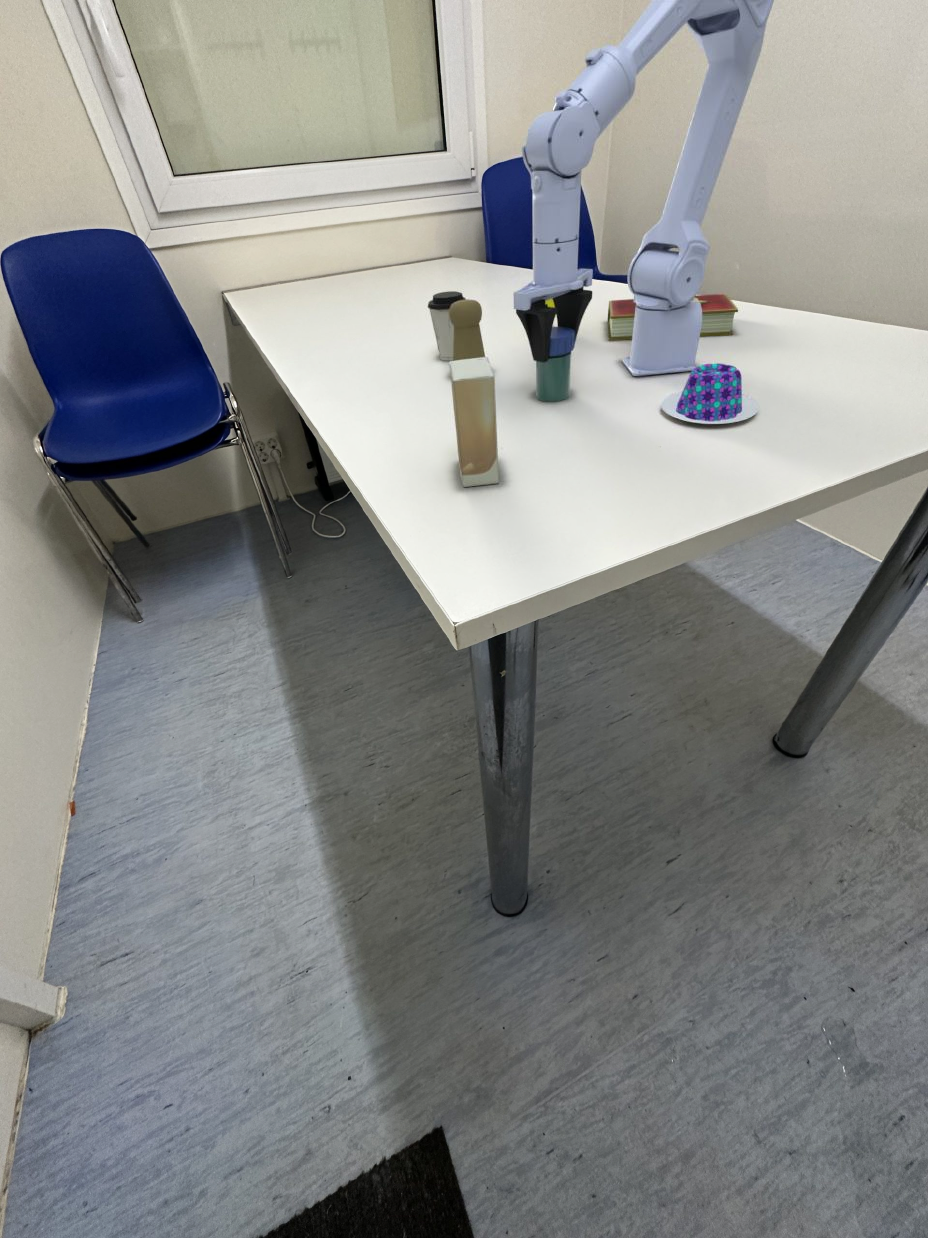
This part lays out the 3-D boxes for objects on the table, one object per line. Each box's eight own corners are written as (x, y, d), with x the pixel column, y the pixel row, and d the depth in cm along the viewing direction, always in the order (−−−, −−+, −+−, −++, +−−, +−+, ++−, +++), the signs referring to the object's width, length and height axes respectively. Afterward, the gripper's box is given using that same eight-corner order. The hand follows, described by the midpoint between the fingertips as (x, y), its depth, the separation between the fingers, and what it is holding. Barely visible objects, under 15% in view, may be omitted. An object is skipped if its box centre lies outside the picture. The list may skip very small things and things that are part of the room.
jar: (565, 387, 83) (567, 330, 78) (572, 399, 79) (575, 340, 74) (533, 391, 83) (532, 334, 78) (539, 403, 79) (539, 344, 74)
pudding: (726, 389, 77) (735, 349, 74) (776, 420, 68) (789, 377, 65) (645, 401, 76) (650, 362, 73) (685, 435, 67) (693, 392, 64)
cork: (484, 380, 89) (480, 304, 81) (448, 381, 90) (441, 306, 83) (491, 367, 93) (487, 294, 86) (456, 368, 94) (450, 296, 87)
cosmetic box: (458, 464, 67) (448, 359, 59) (493, 460, 67) (487, 354, 59) (462, 489, 62) (451, 378, 54) (500, 485, 62) (494, 373, 54)
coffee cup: (427, 361, 99) (419, 299, 92) (443, 350, 103) (436, 289, 97) (462, 363, 96) (457, 299, 90) (476, 350, 101) (472, 289, 94)
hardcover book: (607, 322, 107) (609, 298, 104) (720, 316, 103) (725, 291, 101) (608, 340, 99) (610, 314, 96) (732, 334, 95) (738, 307, 92)
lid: (533, 356, 75) (533, 339, 74) (533, 344, 79) (533, 328, 78) (575, 354, 74) (576, 336, 73) (573, 341, 79) (573, 325, 77)
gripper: (545, 251, 63) (544, 374, 72) (615, 230, 70) (606, 344, 79) (499, 249, 67) (503, 366, 76) (570, 229, 74) (566, 338, 83)
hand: (553, 354), depth 77 cm, fingers closed on lid, 5 cm apart
